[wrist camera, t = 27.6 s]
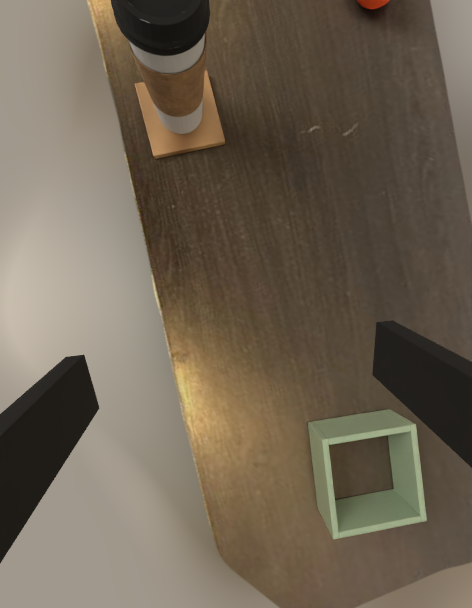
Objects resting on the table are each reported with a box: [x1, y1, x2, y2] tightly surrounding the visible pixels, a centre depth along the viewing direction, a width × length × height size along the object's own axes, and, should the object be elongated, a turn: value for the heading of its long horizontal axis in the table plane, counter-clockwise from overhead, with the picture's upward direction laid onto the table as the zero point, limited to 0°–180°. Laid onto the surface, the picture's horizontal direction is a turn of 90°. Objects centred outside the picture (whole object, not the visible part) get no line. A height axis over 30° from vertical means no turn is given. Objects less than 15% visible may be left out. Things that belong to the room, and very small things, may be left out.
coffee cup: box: [111, 0, 210, 134], centre depth 28 cm, size 8×8×15 cm
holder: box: [308, 409, 427, 539], centre depth 35 cm, size 13×13×5 cm
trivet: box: [135, 71, 225, 159], centre depth 36 cm, size 10×10×1 cm
